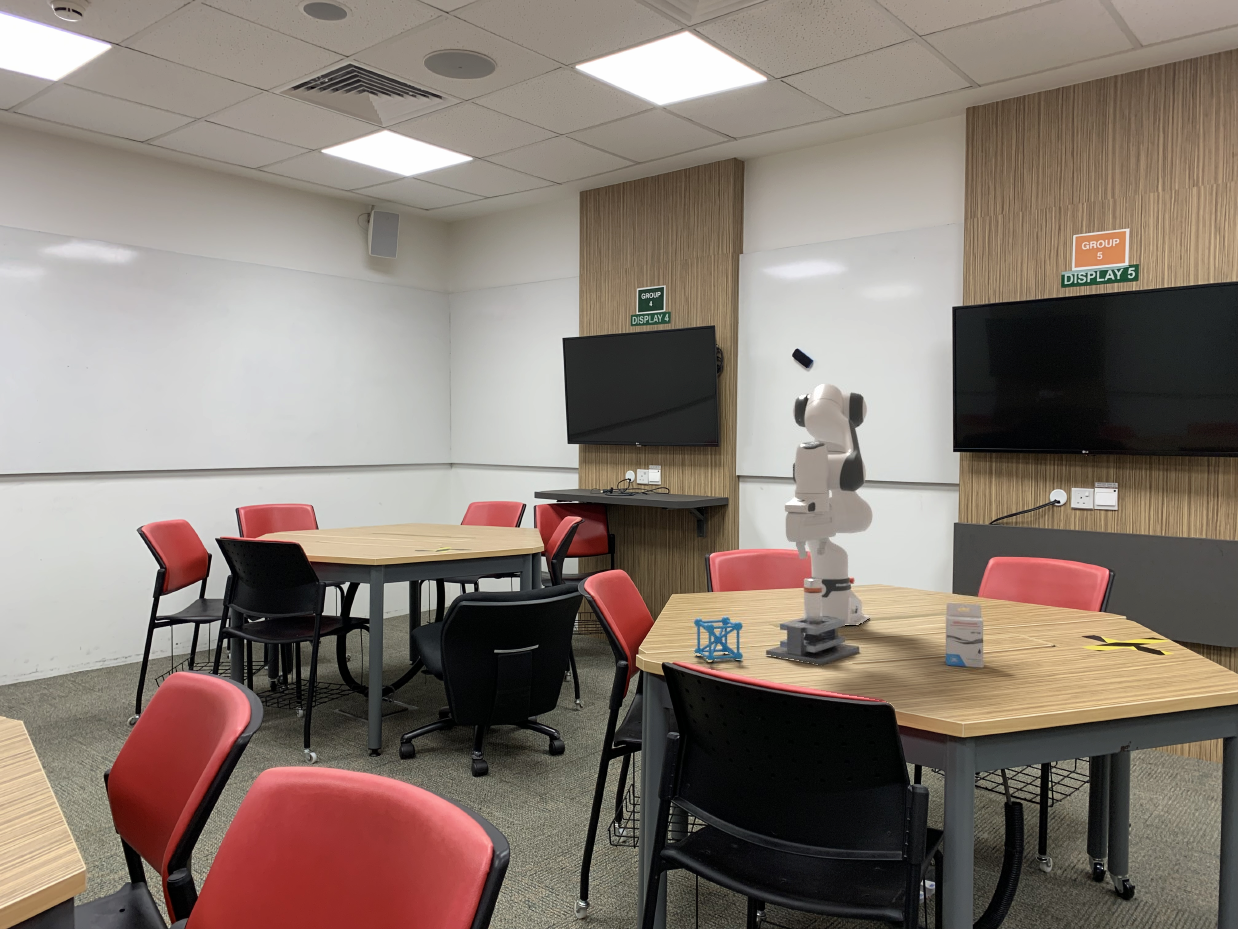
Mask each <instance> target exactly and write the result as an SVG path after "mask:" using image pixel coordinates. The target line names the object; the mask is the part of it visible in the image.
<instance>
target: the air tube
mask: <svg viewBox="0 0 1238 929" xmlns="http://www.w3.org/2000/svg"><path fill="white" fill-rule="evenodd" d="M803 595H804V596H803V605H804V606H803V609H804V610H803V612H804V613H803V616H804V623H808V624H815V625H818V624H822V580H821V579H812V578H804V579H803ZM804 640H806V641H812V642H820V641H822V633H818V634H815V635H814V634H807V633H804Z"/></svg>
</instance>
